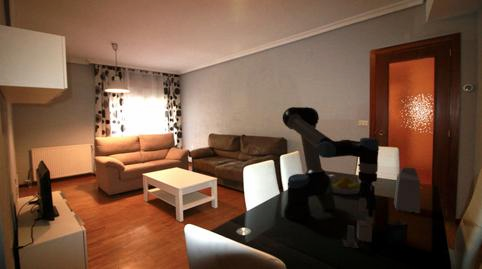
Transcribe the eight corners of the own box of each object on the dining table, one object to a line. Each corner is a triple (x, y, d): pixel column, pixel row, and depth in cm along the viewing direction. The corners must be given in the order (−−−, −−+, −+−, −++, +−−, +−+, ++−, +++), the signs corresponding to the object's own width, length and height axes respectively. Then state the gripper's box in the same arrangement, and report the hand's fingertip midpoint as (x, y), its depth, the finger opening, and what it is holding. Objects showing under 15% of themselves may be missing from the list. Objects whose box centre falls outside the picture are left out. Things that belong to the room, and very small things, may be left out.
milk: (395, 210, 144) (398, 168, 142) (393, 203, 154) (396, 164, 152) (420, 214, 138) (423, 170, 136) (416, 207, 148) (419, 166, 146)
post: (342, 239, 109) (342, 222, 108) (356, 241, 107) (357, 224, 107) (344, 246, 103) (344, 228, 103) (358, 248, 102) (359, 230, 101)
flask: (403, 240, 109) (405, 217, 108) (408, 243, 106) (410, 220, 105) (385, 240, 108) (386, 218, 107) (389, 244, 106) (391, 221, 105)
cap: (356, 235, 113) (357, 219, 113) (368, 236, 112) (369, 221, 111) (358, 240, 108) (359, 224, 108) (371, 242, 107) (372, 226, 106)
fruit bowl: (316, 189, 183) (317, 175, 182) (341, 185, 195) (342, 171, 194) (346, 201, 158) (347, 185, 157) (373, 195, 169) (374, 180, 168)
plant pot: (341, 205, 136) (333, 186, 142) (321, 210, 138) (314, 191, 143) (338, 208, 147) (331, 190, 152) (319, 212, 148) (313, 195, 153)
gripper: (353, 165, 120) (351, 205, 122) (365, 178, 96) (363, 227, 98) (369, 166, 118) (367, 207, 120) (386, 179, 95) (383, 230, 96)
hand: (365, 216), depth 109 cm, fingers open, 13 cm apart
